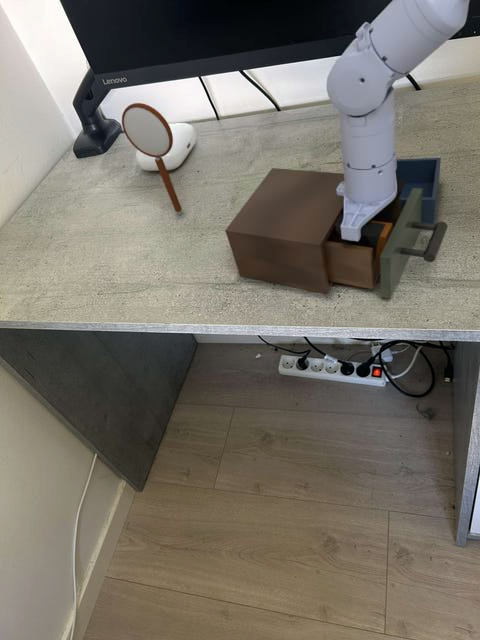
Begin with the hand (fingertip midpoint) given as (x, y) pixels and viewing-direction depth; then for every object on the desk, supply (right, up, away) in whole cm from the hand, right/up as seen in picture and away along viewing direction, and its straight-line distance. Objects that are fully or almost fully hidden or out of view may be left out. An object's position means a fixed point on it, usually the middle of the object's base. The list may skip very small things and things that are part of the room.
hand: (372, 247), depth 65 cm
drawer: (+1, -1, +1) cm, 2 cm away
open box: (+7, +8, +8) cm, 13 cm away
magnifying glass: (-28, +9, +21) cm, 36 cm away
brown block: (0, 0, +1) cm, 1 cm away
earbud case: (-32, +23, +35) cm, 53 cm away
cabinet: (-8, +1, +7) cm, 11 cm away
